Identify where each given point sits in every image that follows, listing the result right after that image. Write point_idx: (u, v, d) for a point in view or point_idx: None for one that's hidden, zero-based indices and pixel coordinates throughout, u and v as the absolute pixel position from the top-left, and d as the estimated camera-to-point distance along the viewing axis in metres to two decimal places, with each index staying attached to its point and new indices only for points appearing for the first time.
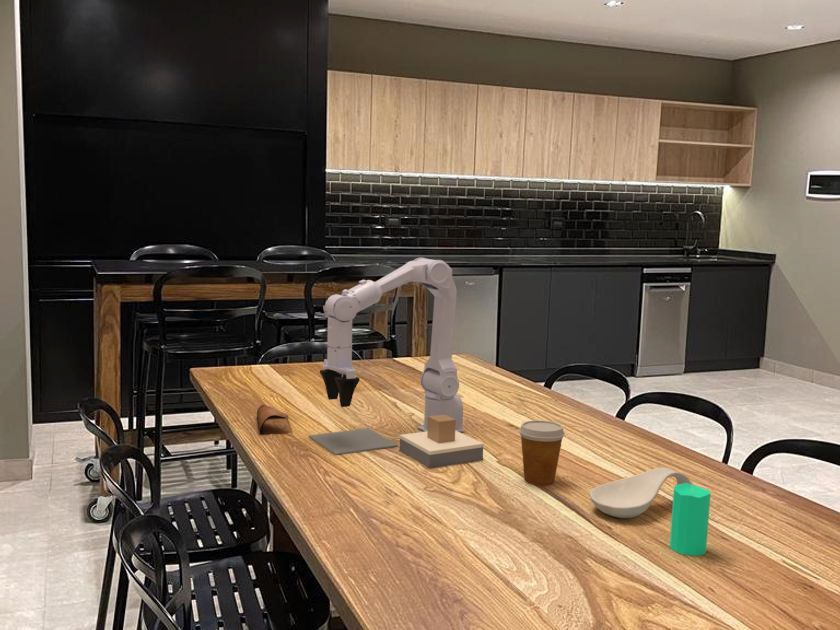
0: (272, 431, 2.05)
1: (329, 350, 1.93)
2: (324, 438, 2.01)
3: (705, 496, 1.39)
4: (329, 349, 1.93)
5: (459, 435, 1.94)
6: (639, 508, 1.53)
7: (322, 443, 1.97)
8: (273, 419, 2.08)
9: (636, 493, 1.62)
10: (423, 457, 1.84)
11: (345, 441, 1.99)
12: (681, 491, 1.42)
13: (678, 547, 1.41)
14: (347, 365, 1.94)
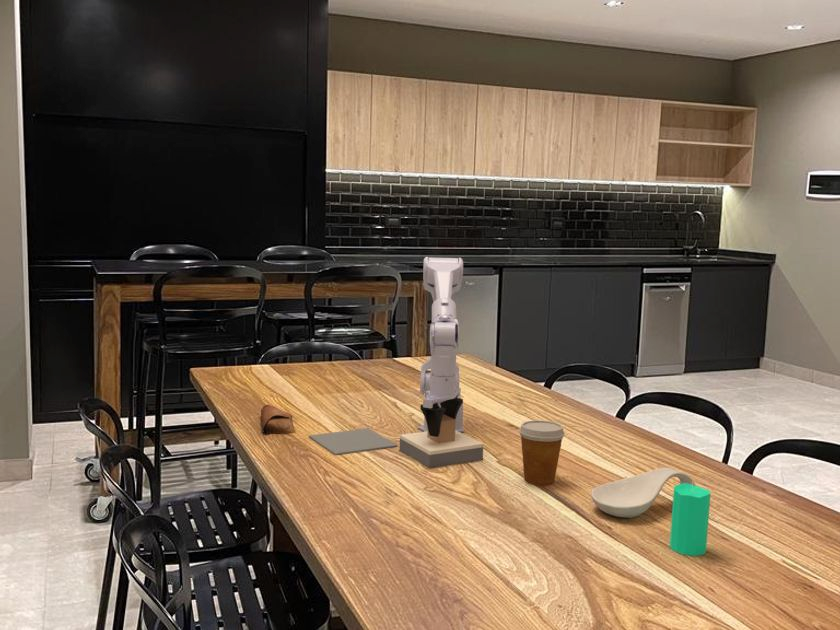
0: (275, 431, 2.05)
1: None
2: (324, 438, 2.01)
3: (705, 496, 1.39)
4: None
5: (459, 435, 1.94)
6: (639, 508, 1.53)
7: (322, 443, 1.97)
8: (276, 419, 2.09)
9: (638, 493, 1.62)
10: (423, 457, 1.84)
11: (345, 441, 1.99)
12: (681, 491, 1.42)
13: (678, 547, 1.41)
14: (440, 395, 1.87)
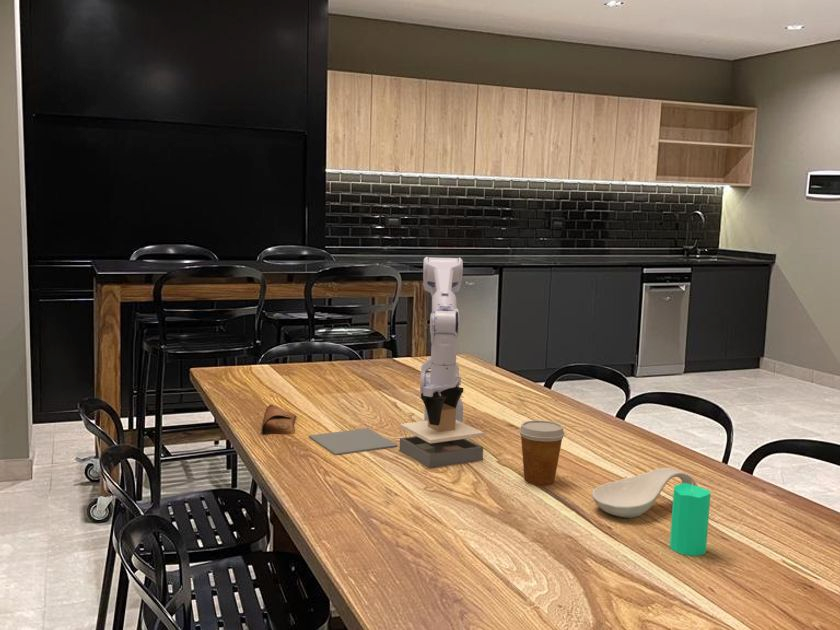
0: (274, 431, 2.05)
1: None
2: (324, 438, 2.01)
3: (705, 496, 1.39)
4: None
5: (459, 424, 1.94)
6: (640, 508, 1.54)
7: (322, 443, 1.97)
8: (277, 419, 2.09)
9: (639, 493, 1.62)
10: (423, 457, 1.84)
11: (345, 441, 1.99)
12: (681, 491, 1.42)
13: (678, 547, 1.41)
14: (440, 383, 1.86)
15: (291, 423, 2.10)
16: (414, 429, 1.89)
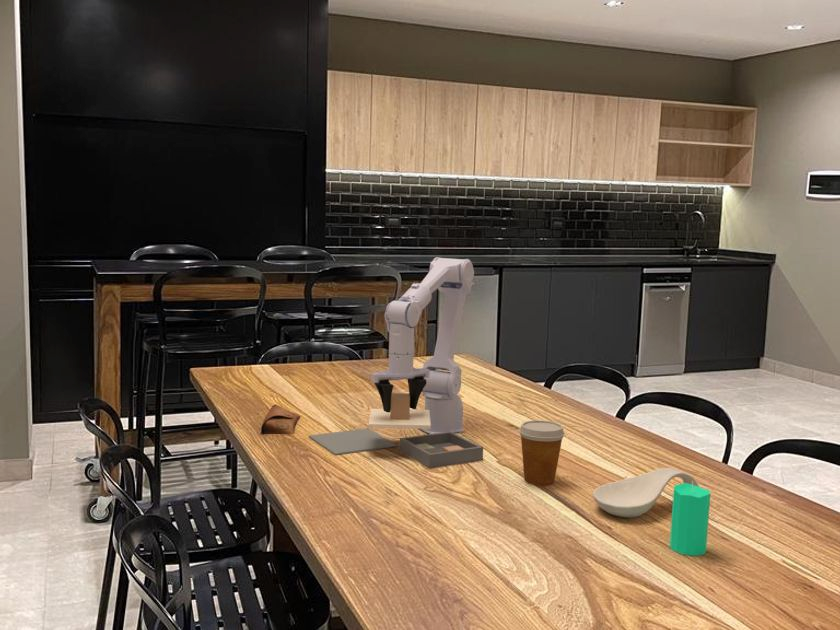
0: (273, 432, 2.05)
1: None
2: (324, 438, 2.01)
3: (705, 496, 1.39)
4: None
5: (423, 416, 1.95)
6: (641, 508, 1.54)
7: (322, 443, 1.97)
8: (277, 419, 2.08)
9: (640, 493, 1.62)
10: (423, 457, 1.84)
11: (345, 441, 1.99)
12: (681, 491, 1.42)
13: (678, 547, 1.41)
14: (392, 371, 1.91)
15: (291, 423, 2.09)
16: (373, 414, 1.96)
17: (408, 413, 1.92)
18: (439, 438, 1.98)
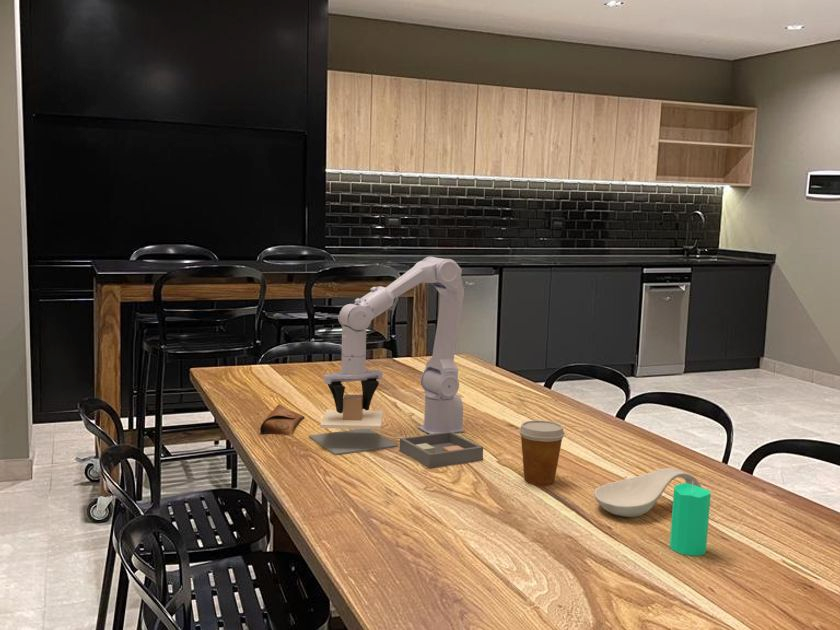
0: (272, 432, 2.05)
1: None
2: (324, 438, 2.01)
3: (705, 496, 1.39)
4: None
5: (376, 417, 2.00)
6: (641, 507, 1.54)
7: (322, 443, 1.97)
8: (278, 419, 2.08)
9: (642, 493, 1.62)
10: (423, 457, 1.84)
11: (345, 441, 1.99)
12: (681, 491, 1.42)
13: (678, 547, 1.41)
14: (344, 373, 1.96)
15: (292, 424, 2.09)
16: (327, 415, 2.01)
17: (360, 414, 1.97)
18: (439, 438, 1.98)
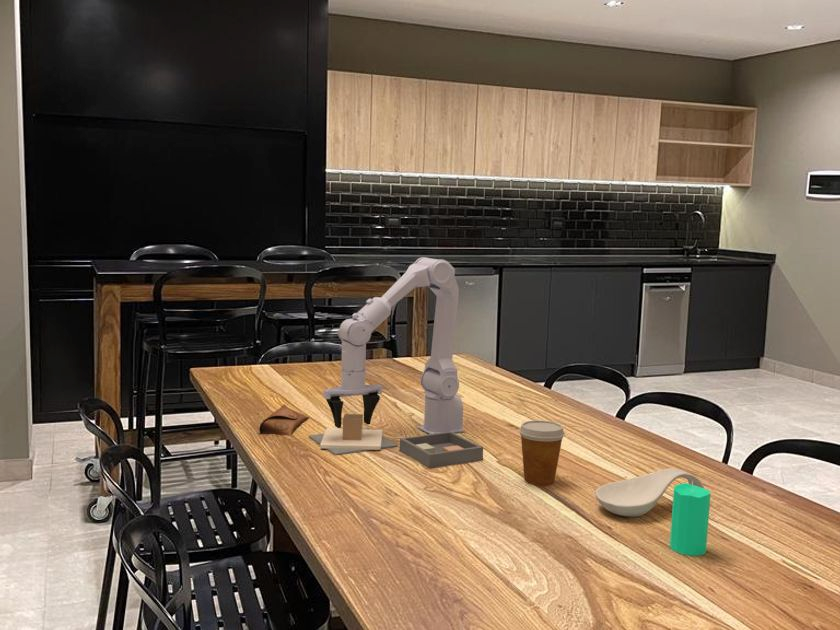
0: (271, 431, 2.05)
1: None
2: None
3: (705, 496, 1.39)
4: None
5: (375, 436, 2.01)
6: (642, 507, 1.54)
7: None
8: (278, 419, 2.08)
9: (644, 493, 1.62)
10: (423, 457, 1.84)
11: None
12: (681, 491, 1.42)
13: (678, 547, 1.41)
14: (344, 388, 1.96)
15: (292, 424, 2.09)
16: (327, 434, 2.01)
17: (360, 434, 1.97)
18: (439, 438, 1.98)
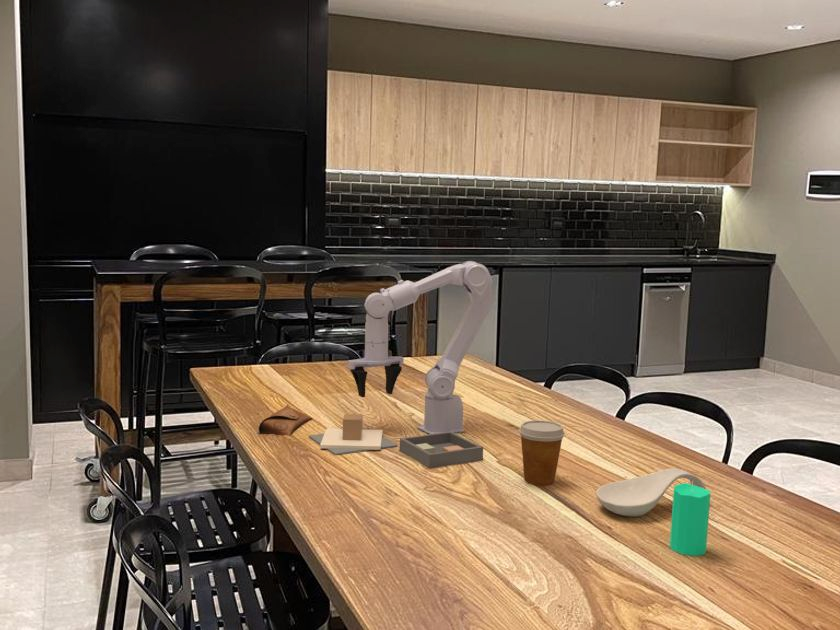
0: (270, 431, 2.05)
1: None
2: None
3: (705, 496, 1.39)
4: None
5: (375, 436, 2.01)
6: (642, 507, 1.54)
7: None
8: (278, 419, 2.08)
9: (645, 493, 1.62)
10: (423, 457, 1.84)
11: None
12: (681, 491, 1.42)
13: (678, 547, 1.41)
14: (368, 359, 2.05)
15: (292, 425, 2.08)
16: (327, 434, 2.01)
17: (360, 434, 1.97)
18: (439, 438, 1.98)
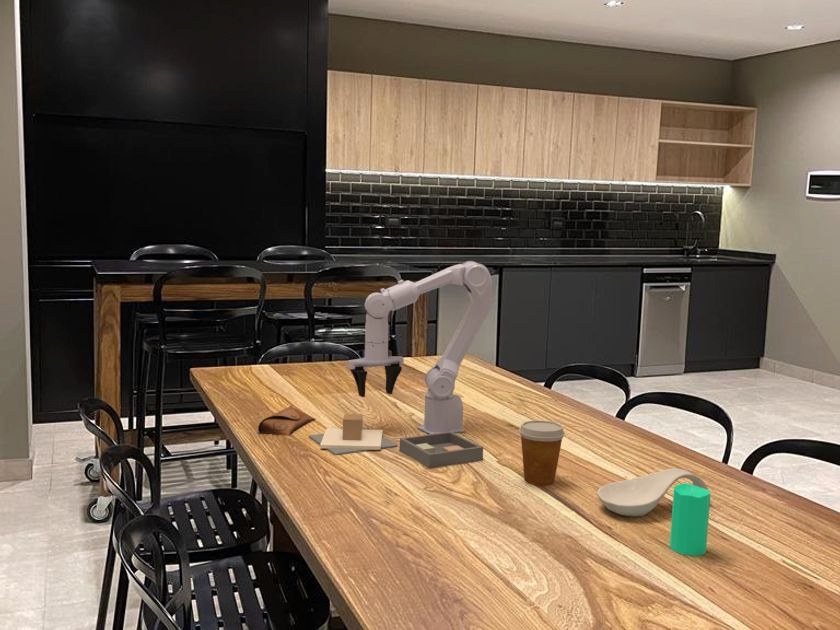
0: (269, 431, 2.05)
1: None
2: None
3: (705, 496, 1.39)
4: None
5: (375, 436, 2.01)
6: (643, 507, 1.54)
7: None
8: (278, 419, 2.08)
9: (646, 493, 1.62)
10: (423, 457, 1.84)
11: None
12: (681, 491, 1.42)
13: (678, 547, 1.41)
14: (368, 359, 2.05)
15: (292, 425, 2.08)
16: (327, 434, 2.01)
17: (360, 434, 1.97)
18: (439, 438, 1.98)
